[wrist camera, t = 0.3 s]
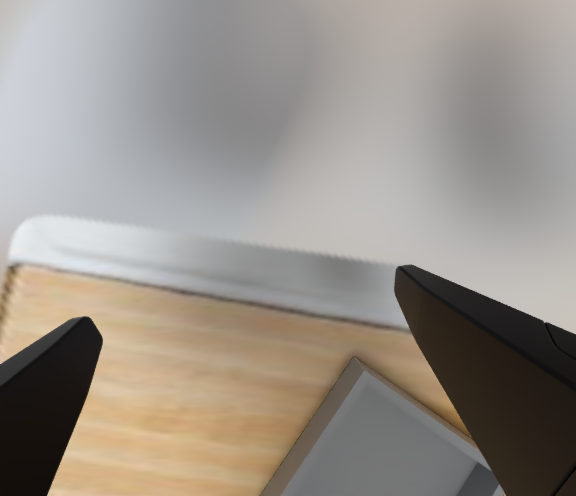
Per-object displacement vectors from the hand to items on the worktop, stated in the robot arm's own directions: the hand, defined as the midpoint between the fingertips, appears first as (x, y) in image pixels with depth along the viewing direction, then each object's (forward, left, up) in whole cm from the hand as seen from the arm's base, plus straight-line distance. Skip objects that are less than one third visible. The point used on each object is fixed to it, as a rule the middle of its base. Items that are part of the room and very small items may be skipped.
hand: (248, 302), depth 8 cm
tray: (-18, +4, -15) cm, 23 cm away
